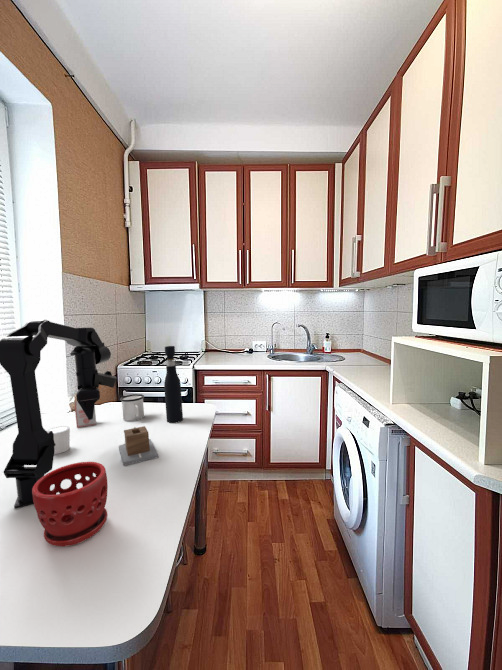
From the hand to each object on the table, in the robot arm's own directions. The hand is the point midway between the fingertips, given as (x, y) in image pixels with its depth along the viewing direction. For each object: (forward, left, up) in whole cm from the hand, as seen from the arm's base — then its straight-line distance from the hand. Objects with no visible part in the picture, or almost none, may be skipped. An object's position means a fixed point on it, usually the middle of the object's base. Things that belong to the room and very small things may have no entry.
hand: (90, 415), depth 106 cm
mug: (+27, -16, -12) cm, 34 cm away
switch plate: (-9, -12, -12) cm, 19 cm away
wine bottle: (+15, -30, -12) cm, 36 cm away
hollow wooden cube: (-9, -12, -11) cm, 19 cm away
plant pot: (-42, +4, -12) cm, 44 cm away
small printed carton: (+31, +2, -12) cm, 33 cm away
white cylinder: (+8, +10, -12) cm, 18 cm away
